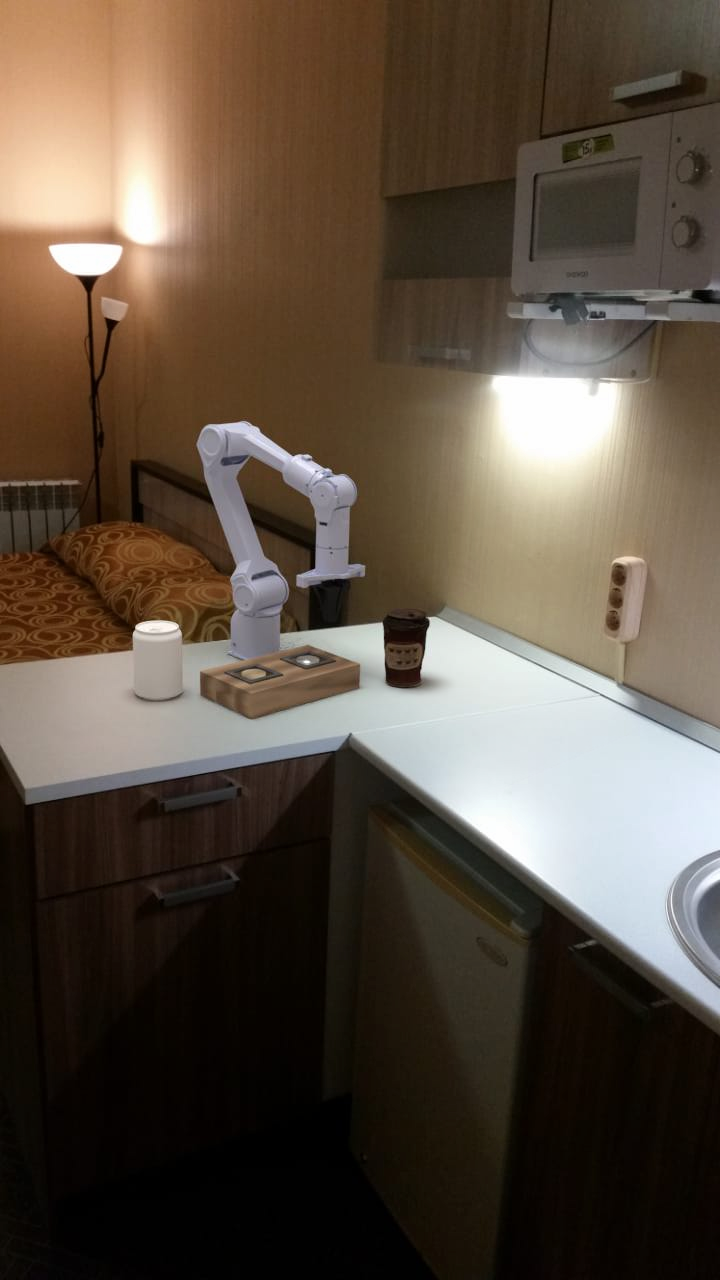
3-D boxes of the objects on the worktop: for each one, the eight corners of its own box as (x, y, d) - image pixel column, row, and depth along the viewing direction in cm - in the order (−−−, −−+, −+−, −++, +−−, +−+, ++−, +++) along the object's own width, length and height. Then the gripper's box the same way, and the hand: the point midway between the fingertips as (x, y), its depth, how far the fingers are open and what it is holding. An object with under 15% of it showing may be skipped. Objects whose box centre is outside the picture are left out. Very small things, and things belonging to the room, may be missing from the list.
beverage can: (188, 687, 188) (187, 621, 185) (175, 703, 181) (174, 634, 177) (142, 684, 189) (140, 618, 185) (128, 700, 181) (126, 631, 178)
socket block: (200, 695, 185) (199, 669, 183) (307, 667, 201) (307, 643, 199) (251, 719, 175) (251, 691, 174) (359, 687, 191) (360, 662, 190)
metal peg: (291, 682, 192) (291, 658, 190) (308, 678, 194) (309, 654, 193) (306, 688, 189) (306, 664, 188) (323, 683, 192) (324, 659, 190)
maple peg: (237, 697, 184) (237, 672, 183) (255, 692, 186) (255, 667, 185) (251, 703, 181) (251, 678, 180) (270, 698, 184) (270, 673, 182)
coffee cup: (427, 692, 190) (431, 620, 186) (380, 690, 190) (382, 618, 186) (425, 675, 198) (429, 607, 195) (380, 674, 198) (383, 605, 195)
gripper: (316, 555, 182) (314, 633, 186) (378, 544, 191) (375, 618, 195) (288, 547, 187) (287, 623, 191) (350, 537, 196) (348, 610, 200)
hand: (330, 620), depth 193 cm, fingers closed
